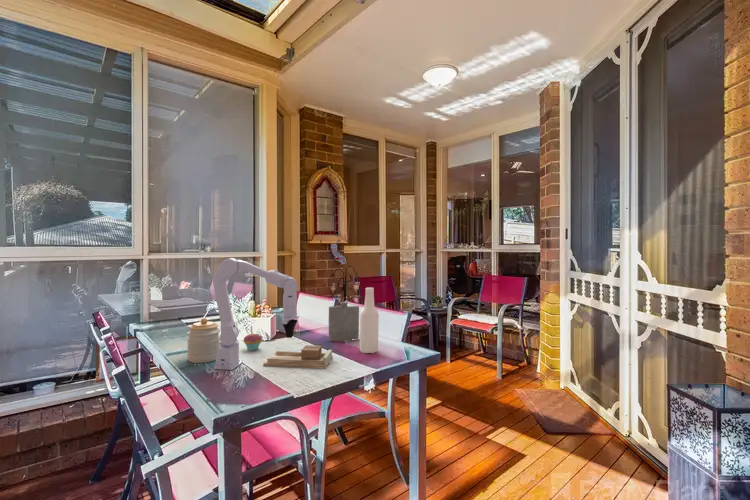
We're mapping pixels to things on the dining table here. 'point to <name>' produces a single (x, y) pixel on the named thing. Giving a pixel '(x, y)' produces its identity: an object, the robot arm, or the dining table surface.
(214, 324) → the jar
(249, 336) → the cupcake
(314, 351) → the block
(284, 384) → the dining table surface
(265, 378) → the dining table surface
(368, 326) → the alcohol
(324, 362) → the bay
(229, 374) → the dining table surface
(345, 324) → the hip flask
